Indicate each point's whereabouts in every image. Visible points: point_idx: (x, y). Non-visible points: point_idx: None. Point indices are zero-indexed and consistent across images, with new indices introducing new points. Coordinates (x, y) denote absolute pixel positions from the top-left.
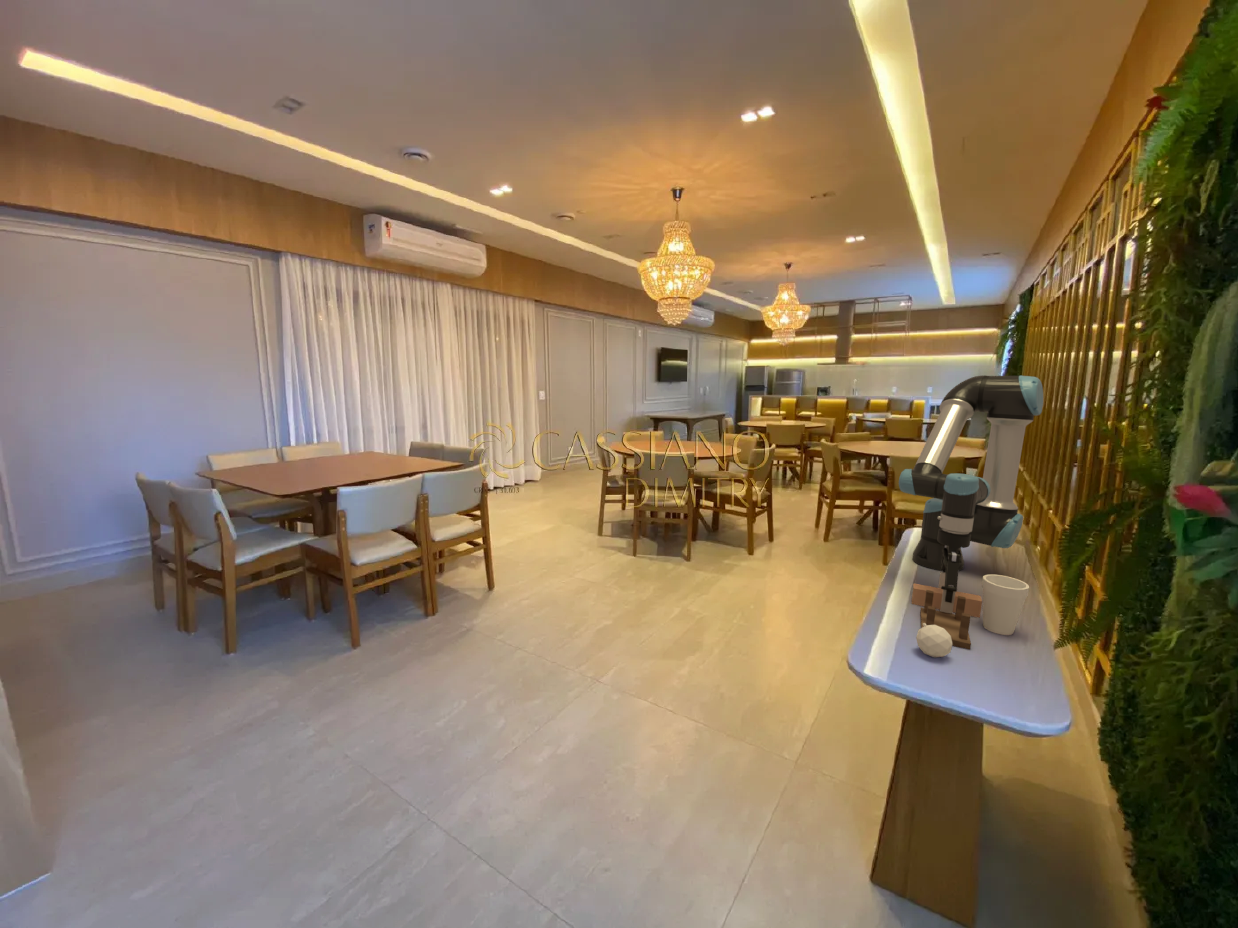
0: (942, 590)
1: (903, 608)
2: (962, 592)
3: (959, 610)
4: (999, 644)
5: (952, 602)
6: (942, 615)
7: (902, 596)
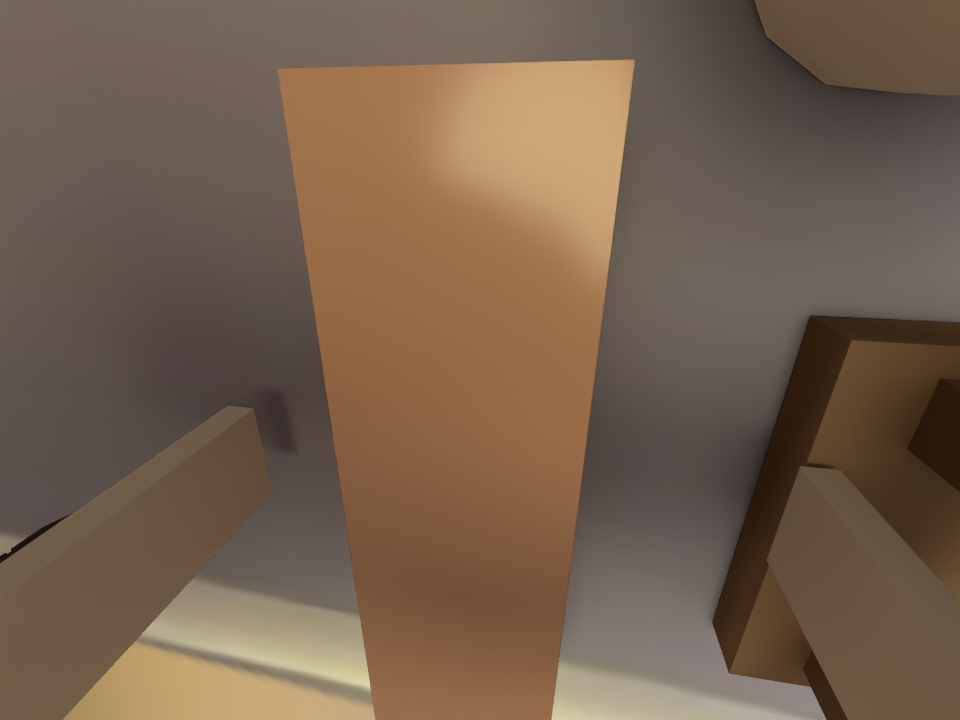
0: (428, 611)
1: (673, 697)
2: (330, 385)
3: None
4: None
5: (953, 622)
6: None
7: None
